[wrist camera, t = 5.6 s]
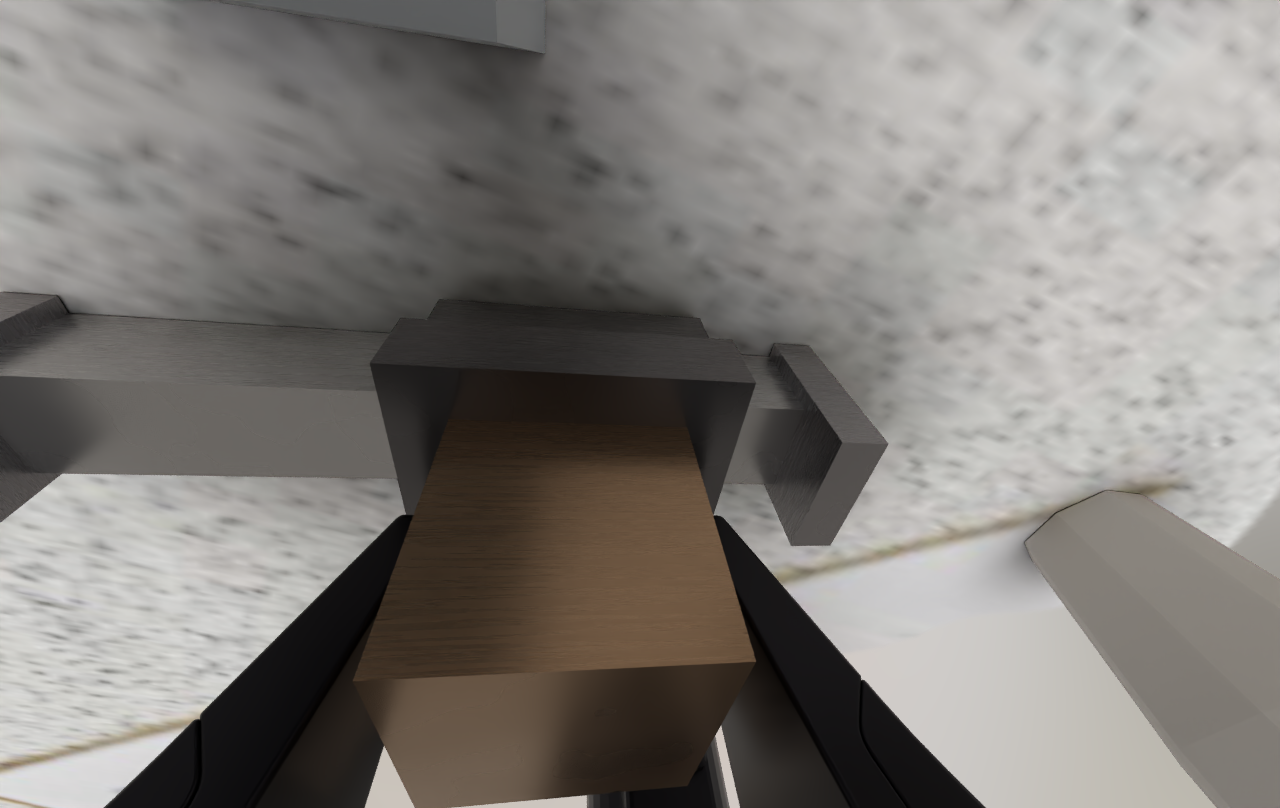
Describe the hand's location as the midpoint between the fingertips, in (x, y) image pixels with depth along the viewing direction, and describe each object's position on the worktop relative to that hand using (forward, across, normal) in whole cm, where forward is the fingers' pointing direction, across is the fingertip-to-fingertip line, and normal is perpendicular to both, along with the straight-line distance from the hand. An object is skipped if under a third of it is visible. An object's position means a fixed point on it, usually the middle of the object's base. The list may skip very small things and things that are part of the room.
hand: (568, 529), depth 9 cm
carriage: (+5, 0, 0) cm, 5 cm away
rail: (+5, +3, 0) cm, 6 cm away
